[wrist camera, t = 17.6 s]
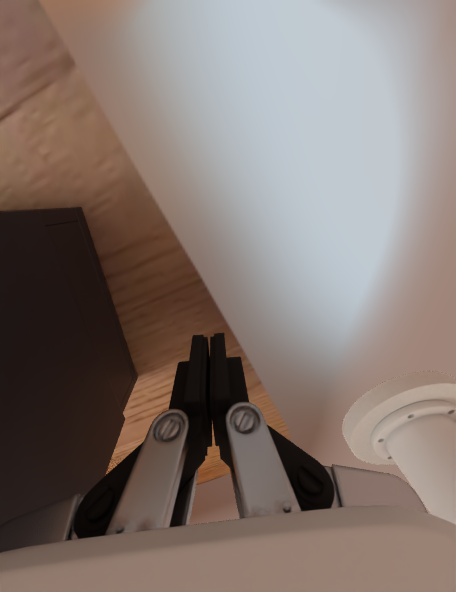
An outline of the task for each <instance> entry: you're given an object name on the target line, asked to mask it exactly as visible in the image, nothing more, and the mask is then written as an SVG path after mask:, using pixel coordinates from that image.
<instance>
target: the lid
mask: <svg viewBox="0 0 456 592" xmlns="http://www.w3.org/2000/svg"><path fill="white" fill-rule="evenodd" d="M124 421H125V417H124V415H123V413H122V410H121V408H120V405H119V403H118V400H117V398H116V396H115V393H114V391H113V388H112V386H111V384H110V381H109V379H108V376H107V374H106V371H105V369H104V367H103V364H102V362H101V359H100V357H99V355H98V352H97V350H96V347H95V345H94V342H93V340H92V338H91V335H90V333H89V330H88V328H87V326H86V323H85V321H84V318H83V316H82V314H81V311H80V309H79V306H78V304H77V301H76V299H75V297H74V294H73V292H72V289H71V287H70V285H69V282H68V280H67V277H66V275H65V272H64V270H63V268H62V265H61V263H60V260H59V258H58V256H57V253H56V251H55V248H54V246H53V243H52V241H51V239H50V236H49V234H48V231H47V229H46V227H45V224H44V222H43V219H42V217H41V214H40V212H39V210H37V209H33V210H13V211H0V526H1V525H2V524H3V523H5V522H7V521H8V520H10V519H12V518H14V517H17V516H19V515H22V514H25V513H27V512H30V511H33V510H35V509H38V508H41V507H43V506H46V505H49V504H51V503H54V502H57V501H59V500H62V499H65V498H67V497H70V496H73V495H76V494H78V493H79V494H80V496H81V495H84V494H87V493H88V492H89V491H90V490H91V489H92V488H93V486H95V485H96V484H97V483H98V482H99V481H100V480H101V479H102V478H104V477H105V474H106V471H107V468H108V466H109V463H110V460H111V457H112V455H113V452H114V449H115V446H116V444H117V441H118V438H119V435H120V432H121V430H122V427H123V424H124Z"/></svg>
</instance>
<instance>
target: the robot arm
mask: <svg viewBox="0 0 456 592" xmlns="http://www.w3.org/2000/svg"><path fill="white" fill-rule="evenodd" d="M212 422H213V429H214V437H215V445H216V446H219V449H220V458H221V459H222V460H223V461H224V462H225V463H226V464H227V465H228V466H229V467H230V472H231V478H232V483H233V487H234V493H235V498H236V503H237V508H238V513H239V519H235V520H226V521H219V522H210V523H202V524H194V525H189V522H190V517H191V510H192V505H193V499H194V494H195V488H196V482H197V476H198V468H199V467H200V466H201V464H202V463H203V462H204V461H205V456H207V447H211V446H212ZM370 444H371V446H372V448H373V450H374V451H375V453H376V454H377V455H378V456H379V457H381V458H382V459H385V460H388V461H395V463H396V464H397V465H398V467H399V468H400V470H401V471H402V473H403V474H404V475H405V477H406V478H407V480H408V481H409V483H410V484H411V485H412V487H413V488H414V489H413V488H412V487H410V485H408V483H407V482H405V481H404V480H402V479H401V478H399V477H398V476H395V475H391V474H389V473H383V472H376V471H370V470H364V469H358V468H352V467H346V466H339V465H332V467H328V466H322V465H321V464H320V463H319V462H318V461H317V460H315V459H314V458H313V457H311V456H310V455H308V454H307V453H306V452H304V451H303V450H302V449H300V448H299V447H297V446H296V445H295V444H293V443H292V442H291V441H289V440H288V439H286V438H285V437H284V436H282V435H281V434H279V433H278V432H277V431H275V430H274V429H272V428H271V427H270V426H268V425H267V424H266V422H265V419H264V417H263V414H262V413H261V411H260V409H259V408H258V407H257V406H256V405H254V404H252V403H249V399H248V394H247V388H246V383H245V377H244V372H243V366H242V361H241V357H229V358H226V348H225V337H224V333H217V334H214V336H213V337H210V355H209V347H208V338H207V337H204V336H203V335H193V337H192V344H191V351H190V358H189V361H185V362H179V363H178V366H177V371H176V376H175V381H174V386H173V391H172V395H171V400H170V405H169V410H166V411H164V412H162V413H161V414H159V415H158V416H157V417H156V418H155V419H154V421H153V422H152V424H151V426H150V428H149V431H148V433H147V435H146V438H145V440H144V442H143V443H142V444H140V445H139V446H138V447H137V448H136V449H135V450H134V451H133V452H132V453H130V454H129V455H128V456H127V457H126V458H125V459H124V460H123V461H121V462H120V463H119V464H118V465H117V466H116V467H115V468H114V469H112V470H111V471H110V472H109V473H108V474H107V475H106V476H105V477H104V478H102V479H101V480H100V481H99V482H98V483H97V484H96V485H95V486H93V488H92V489H91V490H90V491H89V492H88V493H87V494H84V495H81V496H80V494H79V493H78V494H76V495H73V496H70V497H67V498H65V499H62V500H59V501H57V502H54V503H51V504H49V505H46V506H43V507H41V508H38V509H35V510H33V511H30V512H27V513H25V514H22V515H19V516H17V517H14V518H12V519H10V520H8V521H7V522H5V523H3V524H2V525H1V526H0V592H456V406H454V405H453V404H451V403H449V402H447V401H442V400H426V401H420V402H416V403H412V404H409V405H406V406H404V407H402V408H400V409H397V410H396V411H394V412H392V413H391V414H389V415H388V416H386V417H385V418H384V419H382V420H381V421H380V422H379V423H378V424H377V426H376V427H375V428H374V430H373V432H372V434H371V437H370ZM419 497H420V498H419ZM421 500H422V501H423V502H422V501H421ZM423 503H424V504H425V506H426V507H427V509H428V510H429V511H430V513H431V514H429V513H428V512H427V510H426V508H425V507H424V504H423Z"/></svg>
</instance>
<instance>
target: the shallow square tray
mask: <svg viewBox="0 0 456 592" xmlns="http://www.w3.org/2000/svg"><path fill="white" fill-rule="evenodd" d="M37 210H39V212H40V214H41V217H42V219H43V222H44V224H45V227H46V229H47V231H48V234H49V236H50V239H51V241H52V243H53V246H54V248H55V251H56V253H57V256H58V258H59V260H60V263H61V265H62V268H63V270H64V272H65V275H66V277H67V280H68V282H69V285H70V287H71V289H72V292H73V294H74V297H75V299H76V301H77V304H78V306H79V309H80V311H81V314H82V316H83V318H84V321H85V323H86V326H87V328H88V330H89V333H90V335H91V338H92V340H93V342H94V345H95V347H96V350H97V352H98V355H99V357H100V359H101V362H102V364H103V367H104V369H105V371H106V374H107V376H108V379H109V381H110V384H111V386H112V388H113V391H114V393H115V396H116V398H117V400H118V403H119V405H120V408H121V410H122V413H123V411H124V409H125V407H126V404H127V402H128V400H129V397H130V395H131V392H132V390H133V388H134V385H135V383H136V381H137V375H136V372H135V369H134V366H133V363H132V360H131V357H130V354H129V350H128V347H127V344H126V341H125V338H124V335H123V332H122V329H121V326H120V323H119V320H118V317H117V314H116V311H115V308H114V305H113V302H112V299H111V296H110V293H109V290H108V287H107V284H106V281H105V278H104V275H103V272H102V269H101V266H100V263H99V260H98V257H97V254H96V251H95V248H94V245H93V242H92V239H91V236H90V233H89V229H88V226H87V223H86V220H85V217H84V214H83V211H82V208H81V207H74V208H54V209H37Z"/></svg>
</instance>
